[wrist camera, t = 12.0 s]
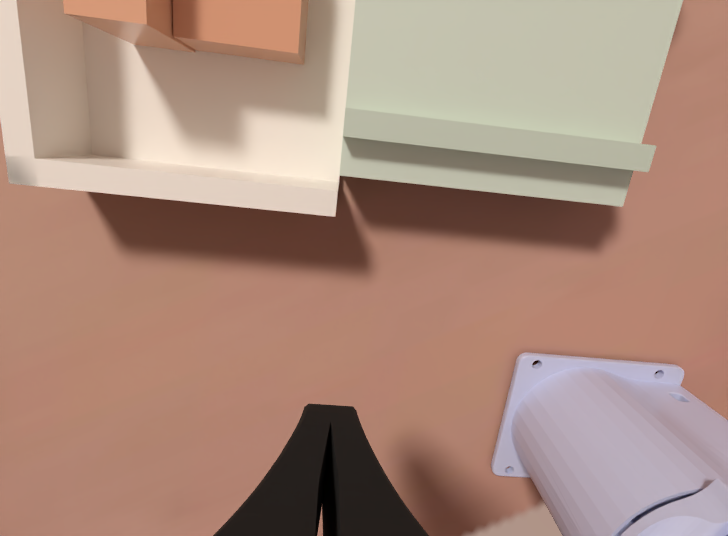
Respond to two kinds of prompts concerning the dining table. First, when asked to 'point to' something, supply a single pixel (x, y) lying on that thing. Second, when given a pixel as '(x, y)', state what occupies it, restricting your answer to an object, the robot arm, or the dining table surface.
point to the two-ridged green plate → (505, 94)
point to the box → (173, 113)
